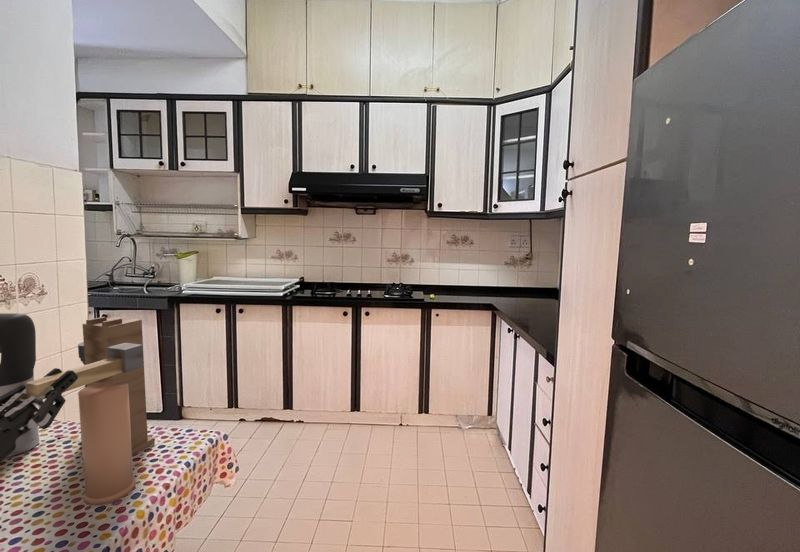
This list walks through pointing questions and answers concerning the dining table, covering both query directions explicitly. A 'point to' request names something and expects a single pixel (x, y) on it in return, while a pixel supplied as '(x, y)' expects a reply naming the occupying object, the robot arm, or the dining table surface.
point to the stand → (96, 342)
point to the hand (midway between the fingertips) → (66, 372)
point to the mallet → (96, 368)
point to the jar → (106, 442)
